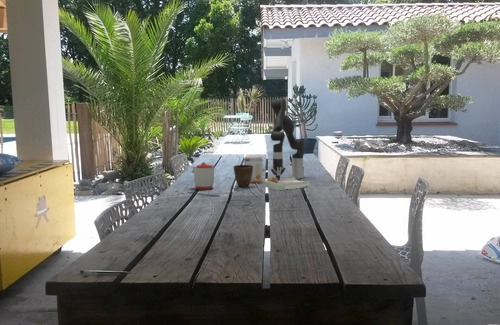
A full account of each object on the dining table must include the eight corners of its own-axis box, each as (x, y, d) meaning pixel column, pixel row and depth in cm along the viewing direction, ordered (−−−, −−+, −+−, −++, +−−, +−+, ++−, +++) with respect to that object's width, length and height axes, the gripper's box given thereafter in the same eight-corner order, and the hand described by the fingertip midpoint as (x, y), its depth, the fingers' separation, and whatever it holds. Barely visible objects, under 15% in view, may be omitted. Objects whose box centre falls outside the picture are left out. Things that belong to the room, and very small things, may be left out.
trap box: (294, 183, 383) (294, 177, 383) (309, 187, 366) (309, 181, 366) (264, 186, 370) (264, 180, 369) (278, 190, 352) (278, 184, 352)
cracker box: (262, 182, 390) (262, 156, 388) (261, 183, 384) (261, 157, 382) (245, 181, 392) (245, 156, 389) (244, 183, 386) (244, 157, 383)
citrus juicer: (197, 186, 372) (196, 160, 370) (217, 187, 366) (217, 161, 364) (187, 189, 357) (187, 162, 355) (209, 191, 352) (208, 163, 349)
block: (273, 182, 370) (273, 177, 370) (277, 183, 366) (277, 178, 366) (267, 182, 368) (267, 177, 367) (270, 183, 363) (270, 178, 363)
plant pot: (251, 189, 359) (251, 167, 357) (231, 188, 362) (231, 167, 360) (254, 185, 373) (254, 165, 371) (236, 185, 376) (235, 164, 374)
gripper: (282, 156, 373) (282, 178, 376) (267, 157, 367) (267, 180, 369) (287, 157, 367) (287, 180, 369) (273, 158, 360) (273, 181, 363)
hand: (277, 180), depth 369 cm, fingers closed
